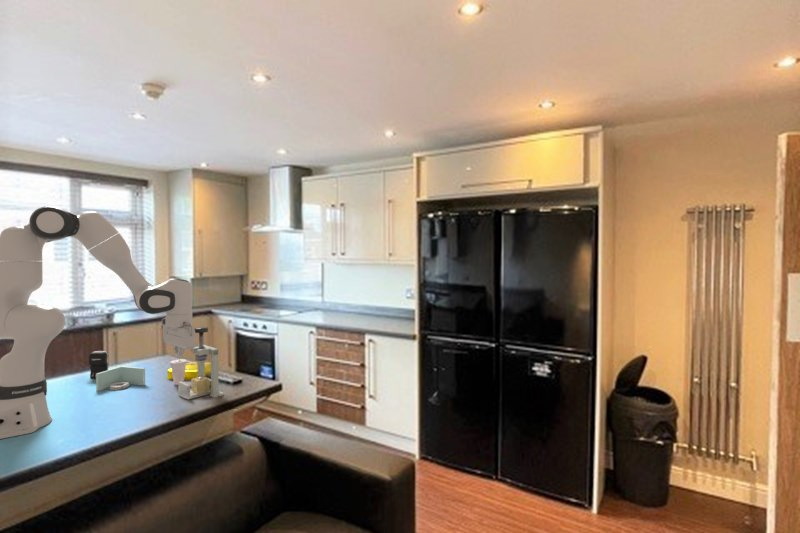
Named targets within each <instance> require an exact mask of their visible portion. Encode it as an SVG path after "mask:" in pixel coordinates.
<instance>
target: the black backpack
mask: <svg viewBox="0 0 800 533" xmlns="http://www.w3.org/2000/svg"><path fill="white" fill-rule="evenodd" d="M109 358H110V357H109V352H108V351H106V350H105V351H104V350H97V351H92V352H91V353H89V354H88V366H90V367H89V368H90V374H89V377H90V379H96V374H97V373H100V372H104V371H107V370H109V363H110V362H109Z"/></svg>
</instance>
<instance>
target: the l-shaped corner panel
mask: <svg viewBox="0 0 800 533" xmlns="http://www.w3.org/2000/svg"><path fill="white" fill-rule="evenodd" d="M95 381H96V382H95V384H96V387H95V388H96V389H95V390H96V392H100V391H103V390H106V389H109V390H111V391H114V392H115V391H120V390H125V389H127V388H128V387H130V385H136V384H138V385H137V386H145V385H146V367H136V366H127V365H126V366H123V365H119V366H118V367H117V366H116V367H114V368H110V369H108V370H107V371H104V372H100V373H97V374H96V378H95Z"/></svg>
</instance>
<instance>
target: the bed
mask: <svg viewBox="0 0 800 533" xmlns="http://www.w3.org/2000/svg"><path fill="white" fill-rule="evenodd" d="M177 386H178V387H177V388H178V397H182V398H183V399H185V400H192V399H196V398H199V397H203V396H207V395H210V394H211V378H210V390H207V391H203V392H199V393H197V392H194V391H192V390H191V384H187V383H186V382H184V383H183V382H178V385H177Z"/></svg>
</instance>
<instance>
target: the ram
mask: <svg viewBox="0 0 800 533" xmlns="http://www.w3.org/2000/svg"><path fill="white" fill-rule="evenodd" d="M193 328H194V330H195V334H198V345H199V349H204V345H205V343H204V334H205V333H209V327H207V326H199V327H193ZM208 355H209V354H206V355H201V356H199V355H197V353H195V354H194V358H195V362H197V361H204V360H205V361H207V360H209V359H208V358H209V357H208Z"/></svg>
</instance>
